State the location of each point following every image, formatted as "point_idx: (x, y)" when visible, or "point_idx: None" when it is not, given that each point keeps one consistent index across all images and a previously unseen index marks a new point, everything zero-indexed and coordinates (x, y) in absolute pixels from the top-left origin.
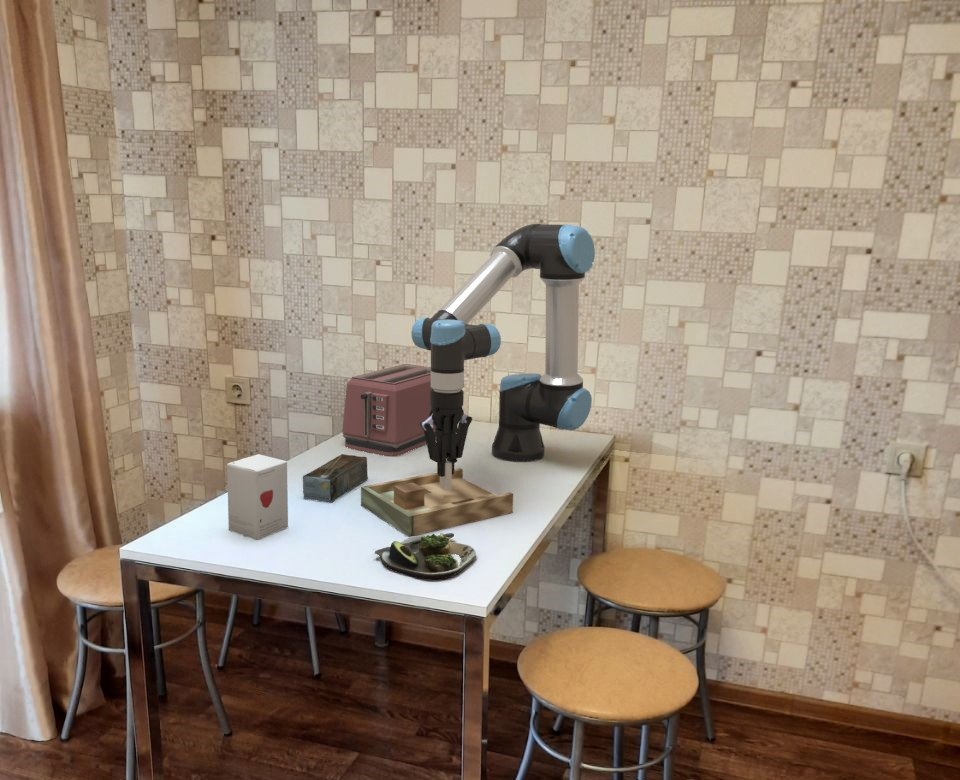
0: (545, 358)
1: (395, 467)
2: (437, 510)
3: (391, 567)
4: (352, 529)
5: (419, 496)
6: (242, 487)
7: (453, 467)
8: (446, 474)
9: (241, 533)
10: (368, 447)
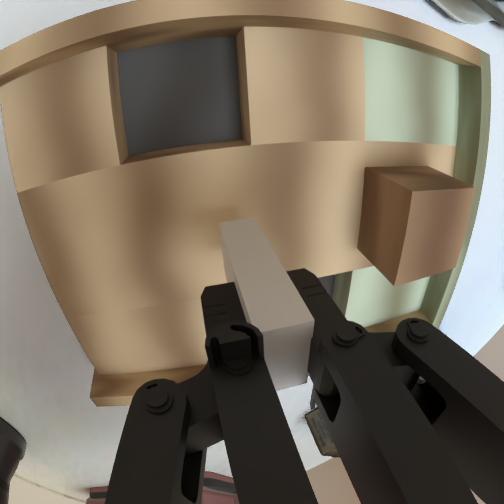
0: None
1: (219, 449)
2: (413, 20)
3: None
4: (489, 174)
5: (411, 179)
6: None
7: (211, 320)
8: (279, 266)
9: None
10: (234, 484)
